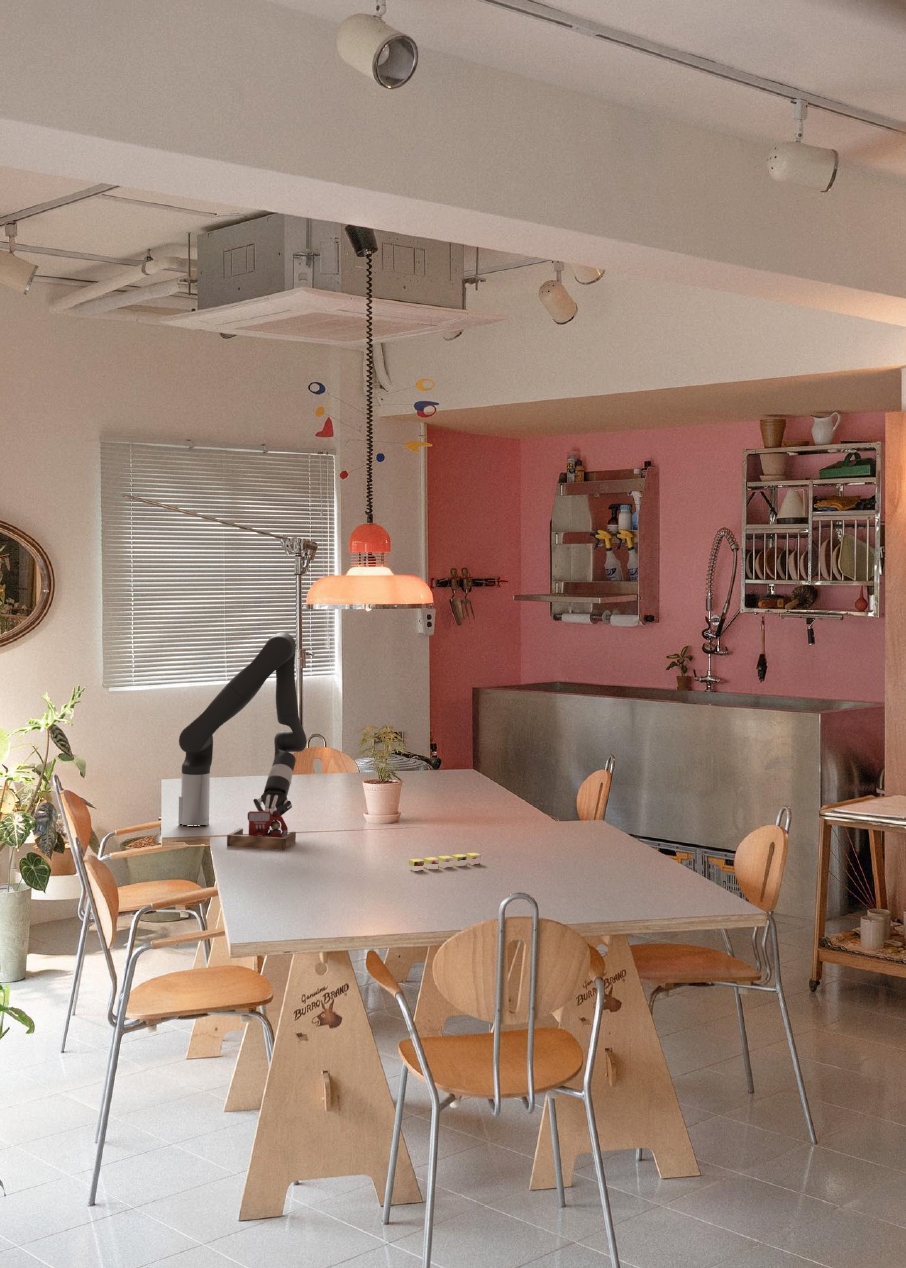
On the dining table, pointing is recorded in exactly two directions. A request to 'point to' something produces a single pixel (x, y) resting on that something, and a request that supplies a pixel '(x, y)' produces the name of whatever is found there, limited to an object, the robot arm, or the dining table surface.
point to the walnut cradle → (260, 841)
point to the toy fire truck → (266, 824)
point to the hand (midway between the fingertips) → (266, 826)
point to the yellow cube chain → (442, 859)
